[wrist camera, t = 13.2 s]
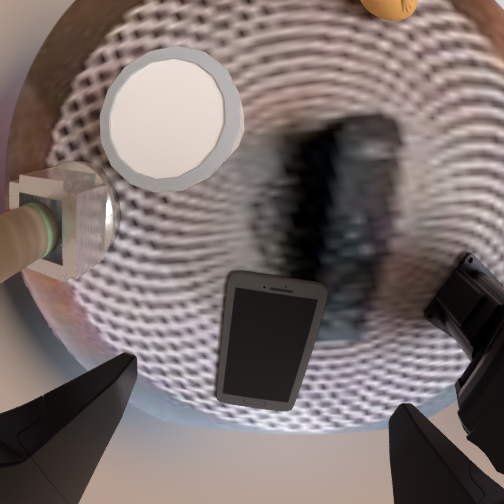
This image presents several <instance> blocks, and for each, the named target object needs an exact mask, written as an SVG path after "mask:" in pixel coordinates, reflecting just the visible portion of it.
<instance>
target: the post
mask: <svg viewBox="0 0 504 504" xmlns="http://www.w3.org/2000/svg"><path fill="white" fill-rule="evenodd" d="M58 238H59V230H58V224H57V221H56V218H55V216H54V214H53V212H52V210H51V209H50V208H49V207H48V206H47V205H46V204H44V203H42V202H32V203H28V204H25V205H22V206H21V207H19V208H16V209H14V210H11V211H8V212H6V213H4V214H1V215H0V283H2V282H3V281H5V280H7V279H8V278H10V277H11V276H13V275H14V274H16V273H17V272H19V271H20V270H22V269H24V268H25V267H27V266H28V265H30V264H32V263H33V262H35V261H37V260H39V259H41V258H43V257H45V256H46V255H48V254H49V253H50V252H52V251H53V250H54V249H55V247H56V245H57V243H58Z"/></svg>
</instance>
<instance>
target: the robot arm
mask: <svg viewBox="0 0 504 504" xmlns="http://www.w3.org/2000/svg"><path fill="white" fill-rule="evenodd" d="M469 258H470V260H469ZM468 260H469V261H468ZM429 313H431V314H430V315H428V314H429ZM424 317H425V318H426V320H428V321H429V322H431V323H432V324H434V325H435V326H437V327H438V328H440V329H441V330H443V331H444V332H446V333H447V334H449V335H450V336H452V337H453V338H454V339H455V340H456V341H457V343H458V344H459V346H460V347H461V348H462V350H463V351H464V353H465V354H466V355H467V357H468V358H469V360H470V361H471V363H470V364H469V366H468V367H467V369H466V370H465V372H464V373H463V375H462V376H461V378H459V379H458V380H457V382H456V383H455V388H456V393H457V399H458V405H459V410H458V417H459V419H460V421H461V423H462V426H463V429H464V430H465V431H466V433H467V434H468V435H467V436H466V437H467V440H469V441H470V442H472V443H473V444H475V445H476V446H478V447H479V448H480V449H481V450H482V451H483V452H484V453H485V454H486V456H487V457H488V458H489V460H490V462H491V463H492V465H493V466H494V468H495V469H496V471H497V472H499V473H502V474H504V287H503V285H502V284H501V283H500V282H499V281H498V280H497V279H496V277H495V276H494V275H493V274H492V273H491V272H490V271H489V270H488V269H487V268H486V267H485V266H484V265H483V264H482V263H481V262H480V261H479V260H478V259H477V258H476V257H475V256H474V255H473V254H472V253H467V254H466V255H465V256H464V258H463V259H462V261H461V262H460V264H459V265H458V267H457V268H456V269H455V271H454V272H453V274H452V275H451V277H450V278H449V279H448V281H447V282H446V283H445V285H444V286H443V288H442V289H441V290H440V292H439V293H438V294H437V296H436V297H435V298H434V299H433V301H432V302H431V303H430V305H429V306H428V307H427V308H426V310H425V311H424ZM136 379H137V358H136V356H135V355H133V354H130V353H127V352H124V353H122V354H120V355H118V356H116V357H114V358H112V359H111V360H109V361H107V362H105V363H103V364H101V365H99V366H97V367H96V368H94V369H92V370H90V371H88V372H86V373H85V374H82V375H81V376H79V377H77V378H75V379H73V380H71V381H69V382H68V383H65V384H64V385H62V386H60V387H58V388H56V389H54V390H52V391H50V392H48V393H46V394H44V397H43V396H40V397H38V398H36V399H34V400H32V401H30V402H28V403H26V404H24V405H21V406H19V407H16V408H14V409H11V410H9V411H6V412H3V413H0V504H78V503H79V501H80V499H81V497H82V495H83V493H84V491H85V489H86V487H87V485H88V483H89V481H90V479H91V477H92V475H93V473H94V471H95V468H96V467H97V465H98V463H99V461H100V459H101V457H102V455H103V453H104V451H105V449H106V447H107V445H108V443H109V441H110V439H111V437H112V435H113V433H114V432H115V429H116V427H117V426H118V424H119V422H120V420H121V418H122V416H123V413H124V411H125V408H126V405H127V403H128V400H129V397H130V395H131V392H132V389H133V387H134V384H135V382H136ZM389 454H390V466H391V475H392V485H393V496H394V504H504V488H503V487H501V486H500V485H499V484H497V483H496V482H495V481H494V480H492V479H491V478H490V477H489V476H487V475H486V474H485V473H484V472H483V471H482V470H481V469H479V468H478V467H477V466H476V465H475V464H474V463H473V462H472V461H471V460H469V458H468V457H467V456H466V455H464V453H463V452H462V451H460V450H459V449H458V448H457V447H456V446H455V445H454V444H453V443H452V442H451V441H450V440H449V439H448V438H447V437H446V436H445V435H444V434H443V433H442V432H441V431H440V430H439V429H438V428H436V427H435V426H434V425H433V424H432V423H431V422H430V421H429V420H428V419H427V418H426V417H425V416H424V415H423V414H422V413H421V412H420V411H419V410H418V409H417V408H416V407H415V406H414V405H412V404H410V403H402V404H400V405H399V406H398V408H397V409H396V410H395V412H394V413H393V414H392V416H391V417H390V419H389Z"/></svg>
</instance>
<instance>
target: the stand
mask: <svg viewBox="0 0 504 504" xmlns="http://www.w3.org/2000/svg"><path fill="white" fill-rule="evenodd" d="M32 202H42V203H44V204H46V205H47V206H48V207H49V208H50V209H51V210H52V212H53V214H54V216H55V218H56V221H57V224H58V230H59V238H58V243H57V245H56V247H55V249H54V250H53V251H52V252H50V253H49V254H48V255H46V256H45V257H43V258H41V259H39V260H37V261H35V262H33V263H32V264H30V265H28V266H27V267H26V268H28V269H31V270H33V271H36V272H39V273H41V274H44V275H46V276H49V277H52V278H54V279H57V280H60V281H62V282H65V281H67V280H68V279H69V278H71V277H73V278H76V279H78V278H79V277H80V276H82V275H83V274H84V273H86V272H87V271H88V270H90V269H91V268H92V267H94V266H95V265H96V264H97V263H99V262H100V261H101V260H103V259H104V258H105V252H106V251H107V250H108V249H109V248H110V247H111V245H112V244H113V243H114V241H115V239H116V237H117V234H118V231H119V227H120V204H119V199H118V196H117V193H116V190H115V188H114V186H113V184H112V182H111V180H110V179H109V178H108V176H107V175H106V174H105V173H104V172H103V171H102V170H101V169H100V168H99V167H97V166H96V165H94V164H92V163H90V162H86V161H71V162H65V163H61V164H59V165H57V166H55V167H54V168H53V167H52V168H47V169H43V170H38V171H34V172H29V173H25V174H21V175H19V179H18V180H14V181H10V182H9V206H10V209H9V210H6V212H8V211H11V210H14V209H16V208H19V207H21V206H22V205H25V204H28V203H32Z"/></svg>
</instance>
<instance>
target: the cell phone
mask: <svg viewBox="0 0 504 504" xmlns="http://www.w3.org/2000/svg"><path fill="white" fill-rule="evenodd" d="M327 295H328V290H327V287H326V286H325V285H324V284H322V283H319V282H315V281H308V280H302V279H295V278H288V277H281V276H275V275H268V274H262V273H255V272H249V271H234V272H232V273H231V274H230V276H229V279H228V285H227V291H226V300H225V310H224V319H223V329H222V339H221V349H220V359H219V370H218V381H217V392H216V394H217V400H219V401H220V402H224V403H227V404H233V405H239V406H245V407H252V408H259V409H267V410H275V411H289V410H292V408H293V406H294V404H295V401H296V398H297V396H298V393H299V390H300V387H301V384H302V381H303V378H304V375H305V372H306V369H307V366H308V363H309V359H310V356H311V353H312V350H313V347H314V343H315V340H316V337H317V333H318V330H319V326H320V323H321V319H322V316H323V312H324V309H325V305H326V301H327Z"/></svg>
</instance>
